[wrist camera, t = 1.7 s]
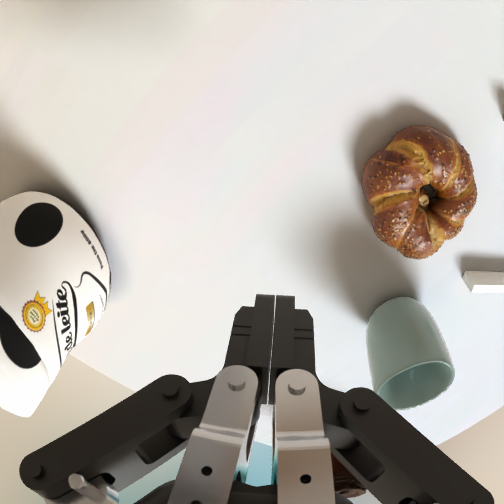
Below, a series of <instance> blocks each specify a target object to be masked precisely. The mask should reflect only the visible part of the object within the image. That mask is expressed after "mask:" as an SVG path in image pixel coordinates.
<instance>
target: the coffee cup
mask: <svg viewBox="0 0 504 504" xmlns="http://www.w3.org/2000/svg"><path fill="white" fill-rule="evenodd" d="M331 461H332V471H333V482H334V492H337V493H339V494H341V495H342V496H344V497H346V498H350V497H357V496H360V495H362V494H365V493H366V491H365V490H366V489H367V488H365V487H364V486H363V485H362V484H361V483H360V482H359V481H358V480H357V479H356V478H355V476H354V475H353V474H352V473H351V472H350V471H349V470H348V469H347V468H346V467H345V466H344V465H343V464H342V463H341V462H340V461H339V460H338V459H337V458H336V457H335V456H334V455H333V454H332V453H331Z"/></svg>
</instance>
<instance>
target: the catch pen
mask: <svg viewBox="0 0 504 504" xmlns="http://www.w3.org/2000/svg"><path fill="white" fill-rule="evenodd" d="M503 121H504V120H503ZM462 279H463V280H464V282H465V284H466V285H467V287H468V288H469V290H470V292H471V293H504V272H489V271H465V273H464V275H463V278H462Z"/></svg>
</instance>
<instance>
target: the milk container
mask: <svg viewBox="0 0 504 504" xmlns="http://www.w3.org/2000/svg"><path fill="white" fill-rule="evenodd" d="M110 290H111V272H110V267H109V263H108V259H107V256H106V253H105V250H104V248H103V246H102V244H101V242H100V241H99V239H98V237H97V235H96V233H95V232H94V230H93V229H92V227H91V226H90V225H89V224H88V223H87V221H86V220H85V219H84V218H83V217H82V216H81V215H80V214H79V213H78V212H77V211H76V210H75V209H74V208H73V207H72V206H70V205H69V204H67V203H66V202H64V201H63V200H61V199H59V198H58V197H56V196H54V195H51V194H47V193H42V192H35V191H29V192H23V193H20V194H17V195H14V196H12V197H9V198H7V199H5V200H4V201H2V202H0V407H1V408H3V409H5V410H7V411H9V412H11V413H13V414H16V415H18V416H22V417H30V416H31V414H32V413H33V412H34V411H35V409H36V408H37V406H38V405H39V403H40V402H41V400H42V398H43V397H44V395H45V393H46V391H47V389H48V387H49V386H50V384H51V383H52V382H53V381H54V379H55V377H56V375H57V373H58V371H59V369H60V367H61V366H62V364H63V362H64V360H65V358H66V357H67V355H68V353H69V352H70V351H71V349H72V348H73V347H74V346H75V345H76V344H78V343H79V342H80V341H81V340H82V339H84V338H85V337H86V336H87V335H88V334H89V333H90V332H91V331H92V330H93V329H94V327H95V326H96V325H97V323H98V322H99V320H100V318H101V317H102V314H103V312H104V310H105V307H106V305H107V302H108V299H109V295H110Z"/></svg>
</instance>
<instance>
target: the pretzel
mask: <svg viewBox="0 0 504 504" xmlns="http://www.w3.org/2000/svg"><path fill="white" fill-rule="evenodd" d="M473 171H474V170H473V168H472V164H471V160H470V157H469V154H468V153H467V151H466V150H465V149H464V147H463V146H462V145H460V144H459V143H458V142H457V141H455V140H454V139H452V138H450V137H448V136H447V135H445V134H443V133H441V132H440V131H438V130H436V129H434V128H431V127H427V126H411V127H408V128H405V129H403V130H402V131H400V132H397V134H396V135H395V137H394V138H393V139H392V140H391V142H390V143H389V144H388V146H387V147H386V149H385V150H380V151H378V152H377V153H376V154H374V155H373V156H372V157H371V158H370V159H369V161H368V162H367V164H366V166H365V168H364V171H363V176H362V186H363V191H364V193H365V195H366V197H367V199H368V201H369V203H370V204H371V205H372V206H373V207H374V212H375V213H374V216H373V220H372V224H373V228H374V232H375V233H376V235H377V237H378V238H380V239H381V241H383V242H384V243H386V244H387V245H389V246H391V247H394V248H396V249H397V251H399V252H400V253H401V254H403V255H404V256H405V257H409V258H412V259H423V258H426V257H428V256H431V255H433V254H434V253H435V252H437V251H438V249H439V248H440V247H441V246H442V244H443V243H444V241H445V240H449V239H452V238H453V237H455V236H456V235H457V234H458V233H459V232H460V231H461V229H462V227H463V223H464V220H465V218H466V217H467V216H468V215H469V213H470V212H471V211H472V209H473V207H474V205H475V203H476V199H477V188H476V184H475V180H474V176H473ZM427 184H430V185H431V186H432V187H433V188H434V189H435V190H434V199H432V200H430V201H429V196H428V194H429V193H427V192H426V190H424V189H423V188H422V186H424V185H427Z"/></svg>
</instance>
